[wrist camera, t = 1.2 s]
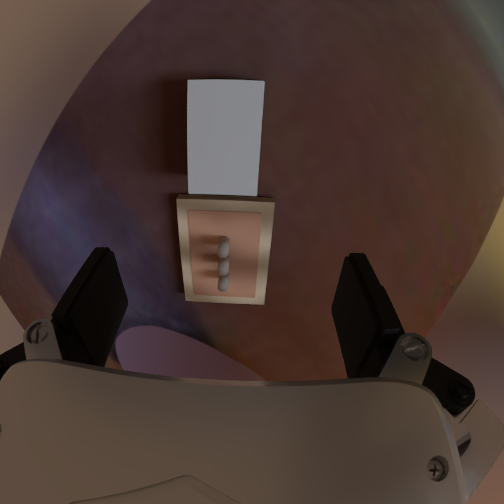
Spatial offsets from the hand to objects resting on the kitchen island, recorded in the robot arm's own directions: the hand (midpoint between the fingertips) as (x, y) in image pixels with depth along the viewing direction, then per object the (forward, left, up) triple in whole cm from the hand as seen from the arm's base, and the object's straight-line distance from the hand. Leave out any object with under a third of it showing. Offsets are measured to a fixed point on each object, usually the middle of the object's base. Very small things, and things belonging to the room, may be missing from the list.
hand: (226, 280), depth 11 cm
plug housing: (-2, -1, -19) cm, 19 cm away
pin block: (+12, -1, -19) cm, 23 cm away
